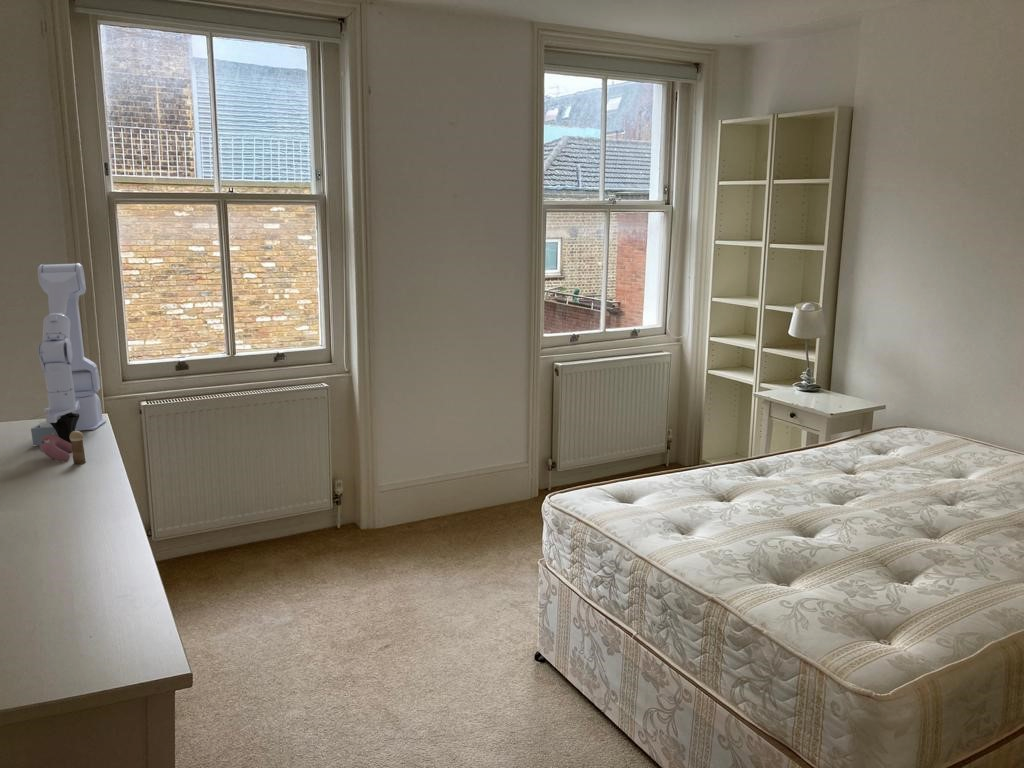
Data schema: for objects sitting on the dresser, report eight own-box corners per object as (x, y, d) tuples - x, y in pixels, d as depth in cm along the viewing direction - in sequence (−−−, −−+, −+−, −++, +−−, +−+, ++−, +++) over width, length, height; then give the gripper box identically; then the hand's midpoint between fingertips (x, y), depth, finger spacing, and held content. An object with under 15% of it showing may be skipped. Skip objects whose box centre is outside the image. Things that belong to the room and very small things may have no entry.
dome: (45, 433, 209) (43, 418, 208) (62, 432, 209) (59, 417, 208) (38, 437, 205) (36, 421, 204) (55, 436, 205) (53, 421, 204)
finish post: (75, 461, 190) (71, 429, 189) (88, 460, 190) (84, 428, 189) (70, 465, 187) (66, 432, 186) (83, 464, 188) (79, 432, 186)
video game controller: (58, 459, 198) (39, 435, 196) (76, 448, 199) (58, 425, 197) (52, 470, 189) (33, 445, 187) (71, 459, 190) (52, 434, 188)
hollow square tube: (43, 439, 210) (41, 422, 209) (68, 438, 211) (66, 421, 210) (33, 446, 204) (30, 428, 203) (58, 444, 205) (56, 427, 204)
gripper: (55, 384, 204) (62, 437, 207) (29, 397, 190) (37, 453, 193) (85, 383, 205) (92, 436, 208) (61, 395, 191) (68, 452, 194)
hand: (67, 444), depth 201 cm, fingers closed
